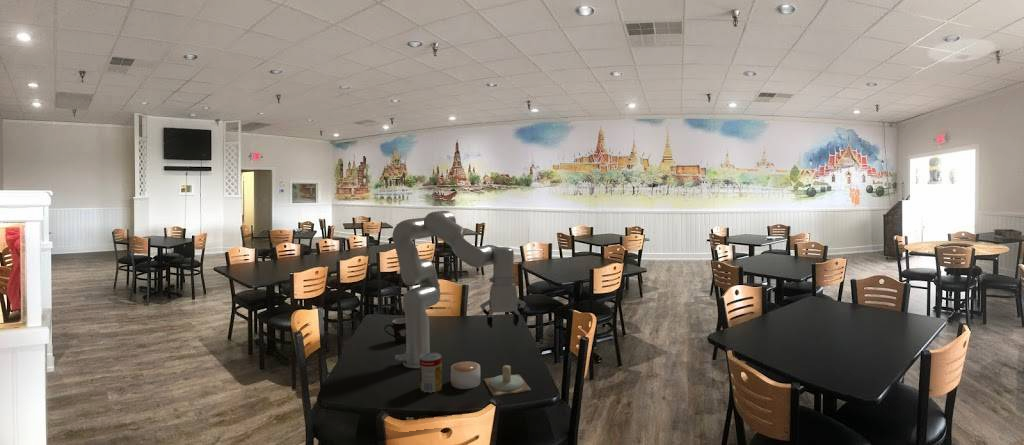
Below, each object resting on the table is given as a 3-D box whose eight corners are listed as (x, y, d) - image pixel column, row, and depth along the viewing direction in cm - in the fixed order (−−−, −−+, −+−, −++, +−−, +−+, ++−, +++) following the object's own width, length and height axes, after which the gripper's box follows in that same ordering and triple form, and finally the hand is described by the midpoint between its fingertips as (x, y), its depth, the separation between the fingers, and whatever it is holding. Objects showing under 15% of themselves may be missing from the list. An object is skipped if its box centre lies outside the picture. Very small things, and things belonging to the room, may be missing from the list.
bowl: (453, 390, 172) (453, 373, 171) (448, 378, 182) (448, 362, 181) (483, 386, 175) (483, 370, 174) (476, 375, 185) (476, 359, 185)
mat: (493, 396, 167) (493, 394, 167) (483, 380, 180) (483, 378, 180) (530, 390, 171) (530, 389, 171) (519, 375, 184) (519, 374, 184)
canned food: (443, 383, 178) (442, 352, 177) (440, 392, 170) (440, 360, 169) (422, 383, 177) (421, 352, 176) (418, 393, 170) (417, 360, 169)
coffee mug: (413, 338, 228) (413, 318, 228) (408, 344, 220) (407, 323, 219) (390, 338, 230) (389, 317, 229) (383, 344, 221) (383, 323, 220)
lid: (495, 392, 168) (494, 375, 168) (487, 379, 180) (486, 362, 179) (527, 388, 172) (527, 371, 171) (517, 375, 183) (517, 359, 182)
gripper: (482, 284, 170) (482, 330, 172) (528, 281, 175) (527, 327, 177) (478, 279, 178) (478, 324, 179) (522, 277, 182) (522, 321, 184)
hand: (502, 325), depth 178 cm, fingers open, 9 cm apart
